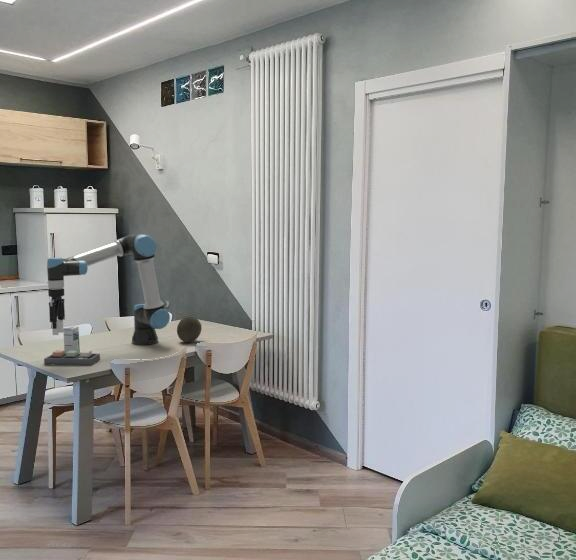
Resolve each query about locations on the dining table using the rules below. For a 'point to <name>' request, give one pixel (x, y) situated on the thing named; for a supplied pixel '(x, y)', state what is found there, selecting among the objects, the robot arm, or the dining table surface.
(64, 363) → the base
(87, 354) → the ivory key
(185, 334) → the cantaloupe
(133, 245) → the robot arm
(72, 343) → the syrup box
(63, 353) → the terracotta key
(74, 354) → the sage key
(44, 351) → the dining table surface
